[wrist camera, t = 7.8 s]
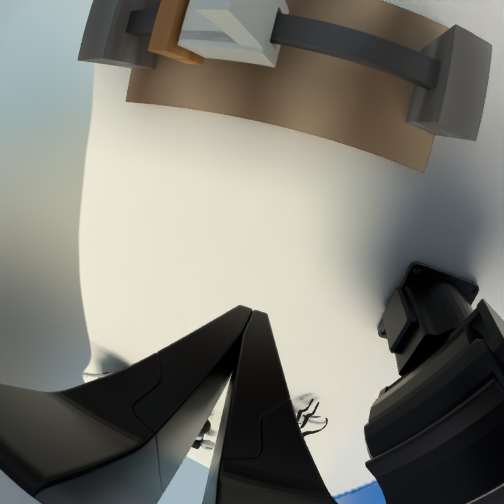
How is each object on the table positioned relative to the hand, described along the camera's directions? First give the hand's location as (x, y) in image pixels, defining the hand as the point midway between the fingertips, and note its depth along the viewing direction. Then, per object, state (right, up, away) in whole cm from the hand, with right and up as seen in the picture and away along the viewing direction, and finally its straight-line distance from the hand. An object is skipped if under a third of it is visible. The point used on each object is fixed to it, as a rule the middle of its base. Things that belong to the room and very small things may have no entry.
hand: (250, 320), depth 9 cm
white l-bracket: (0, +14, +4) cm, 14 cm away
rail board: (+2, +14, +7) cm, 16 cm away
